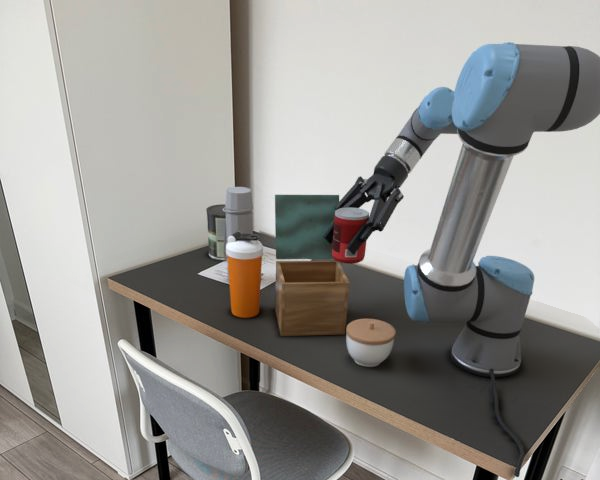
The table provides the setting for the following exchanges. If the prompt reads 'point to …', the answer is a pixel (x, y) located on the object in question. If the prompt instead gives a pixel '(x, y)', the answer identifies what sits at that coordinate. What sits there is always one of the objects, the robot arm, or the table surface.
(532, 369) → the table surface
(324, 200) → the chest lid
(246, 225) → the water bottle
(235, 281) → the shaker bottle
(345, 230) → the canned food
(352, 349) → the trinket box
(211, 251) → the coffee can
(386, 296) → the table surface
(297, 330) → the chest
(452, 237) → the robot arm
